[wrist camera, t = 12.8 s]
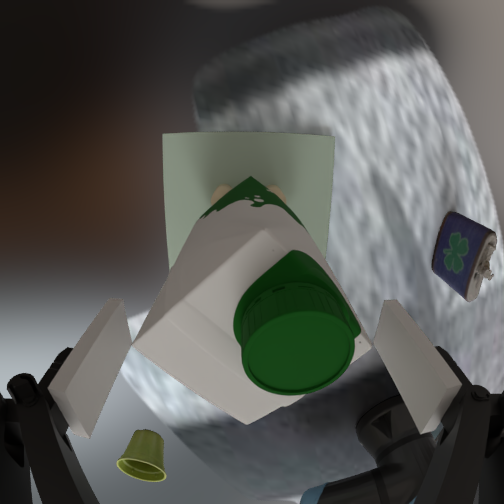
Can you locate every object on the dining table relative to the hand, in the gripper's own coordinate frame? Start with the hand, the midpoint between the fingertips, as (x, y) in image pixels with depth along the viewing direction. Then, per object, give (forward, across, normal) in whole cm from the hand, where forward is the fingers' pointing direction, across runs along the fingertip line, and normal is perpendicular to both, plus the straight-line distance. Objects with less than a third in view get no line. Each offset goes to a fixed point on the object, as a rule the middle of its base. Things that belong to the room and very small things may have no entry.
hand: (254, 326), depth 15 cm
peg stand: (+21, 0, 0) cm, 21 cm away
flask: (+22, -27, +2) cm, 35 cm away
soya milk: (+16, 0, 0) cm, 16 cm away
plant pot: (+22, +19, +44) cm, 52 cm away
